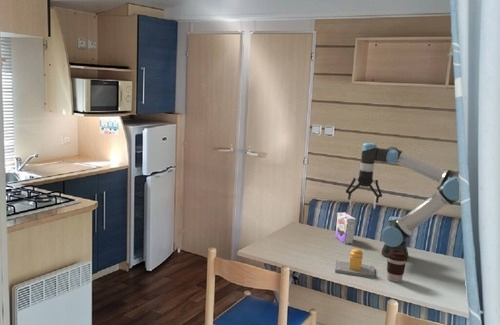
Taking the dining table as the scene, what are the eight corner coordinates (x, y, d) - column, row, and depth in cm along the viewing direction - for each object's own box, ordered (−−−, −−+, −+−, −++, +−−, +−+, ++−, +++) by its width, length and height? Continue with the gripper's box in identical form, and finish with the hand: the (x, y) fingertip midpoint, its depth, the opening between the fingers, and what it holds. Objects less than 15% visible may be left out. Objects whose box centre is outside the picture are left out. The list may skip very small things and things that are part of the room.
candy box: (334, 236, 314) (337, 212, 311) (342, 236, 315) (345, 212, 313) (344, 244, 301) (347, 218, 298) (353, 243, 302) (356, 218, 300)
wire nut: (361, 266, 261) (363, 249, 259) (361, 270, 254) (363, 253, 253) (348, 264, 262) (350, 247, 260) (348, 268, 256) (350, 251, 254)
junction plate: (373, 268, 263) (375, 255, 262) (374, 278, 250) (376, 264, 248) (336, 263, 267) (337, 249, 266) (334, 272, 254) (336, 258, 252)
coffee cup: (389, 274, 256) (392, 247, 254) (407, 280, 250) (411, 252, 248) (381, 279, 249) (384, 251, 246) (399, 285, 243) (403, 257, 240)
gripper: (388, 171, 276) (384, 208, 280) (344, 166, 281) (340, 202, 285) (389, 173, 269) (385, 211, 272) (344, 168, 274) (339, 205, 277)
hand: (362, 206), depth 279 cm, fingers open, 13 cm apart
